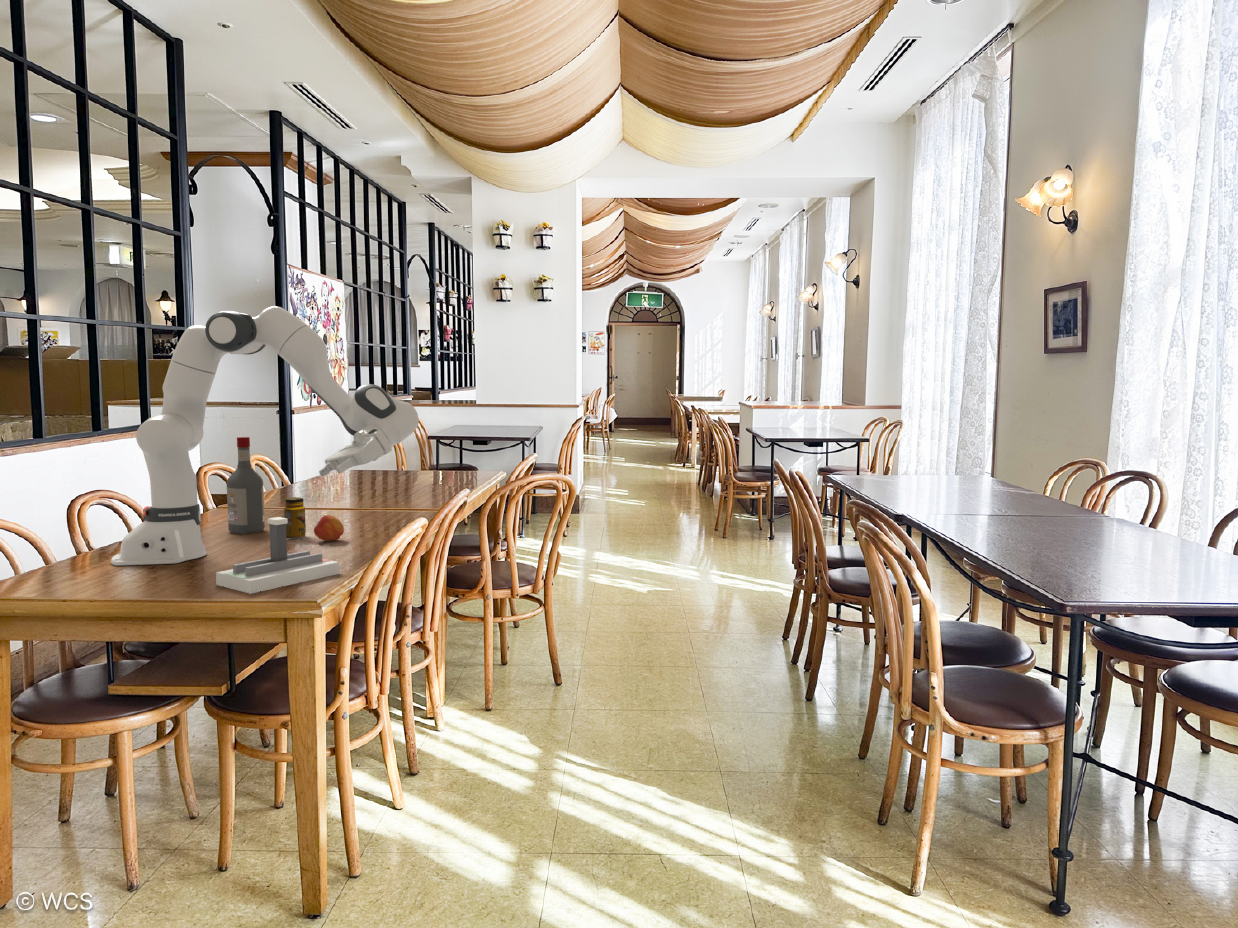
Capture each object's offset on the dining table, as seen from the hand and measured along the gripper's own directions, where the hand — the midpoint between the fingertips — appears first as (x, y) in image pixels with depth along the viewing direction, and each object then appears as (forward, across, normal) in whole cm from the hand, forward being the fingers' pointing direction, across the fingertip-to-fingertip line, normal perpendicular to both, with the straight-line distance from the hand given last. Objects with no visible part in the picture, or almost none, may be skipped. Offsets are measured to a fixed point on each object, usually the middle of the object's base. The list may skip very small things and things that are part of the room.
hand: (329, 472), depth 211 cm
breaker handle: (+23, -2, +12) cm, 26 cm away
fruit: (-5, -38, +24) cm, 45 cm away
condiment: (-2, -52, +20) cm, 56 cm away
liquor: (+2, -70, +13) cm, 72 cm away
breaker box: (+25, -2, +15) cm, 29 cm away
